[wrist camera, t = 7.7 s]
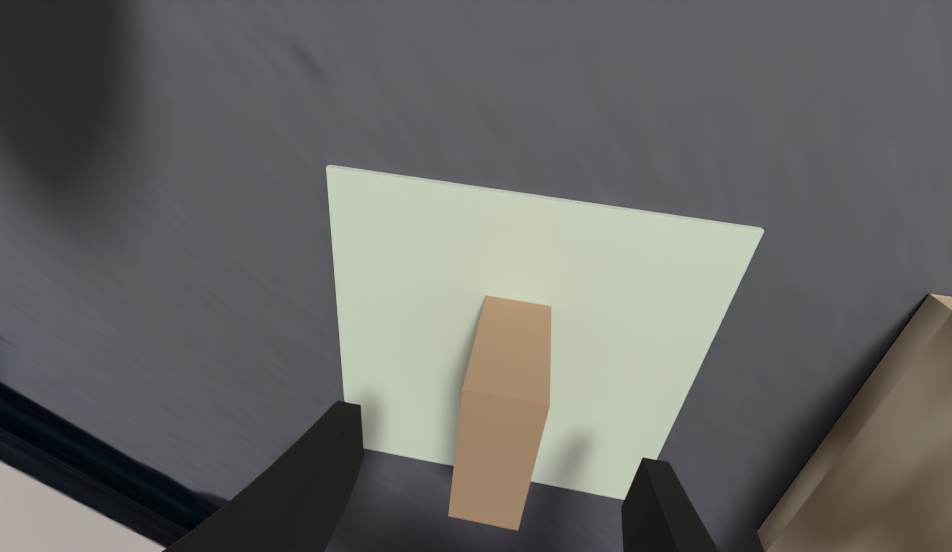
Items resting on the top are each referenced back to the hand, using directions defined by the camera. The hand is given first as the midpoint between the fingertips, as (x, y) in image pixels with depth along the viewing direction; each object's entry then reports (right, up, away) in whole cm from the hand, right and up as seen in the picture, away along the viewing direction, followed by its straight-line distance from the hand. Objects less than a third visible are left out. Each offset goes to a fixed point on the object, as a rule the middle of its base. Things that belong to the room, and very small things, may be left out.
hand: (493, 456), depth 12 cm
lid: (+1, +2, +4) cm, 5 cm away
